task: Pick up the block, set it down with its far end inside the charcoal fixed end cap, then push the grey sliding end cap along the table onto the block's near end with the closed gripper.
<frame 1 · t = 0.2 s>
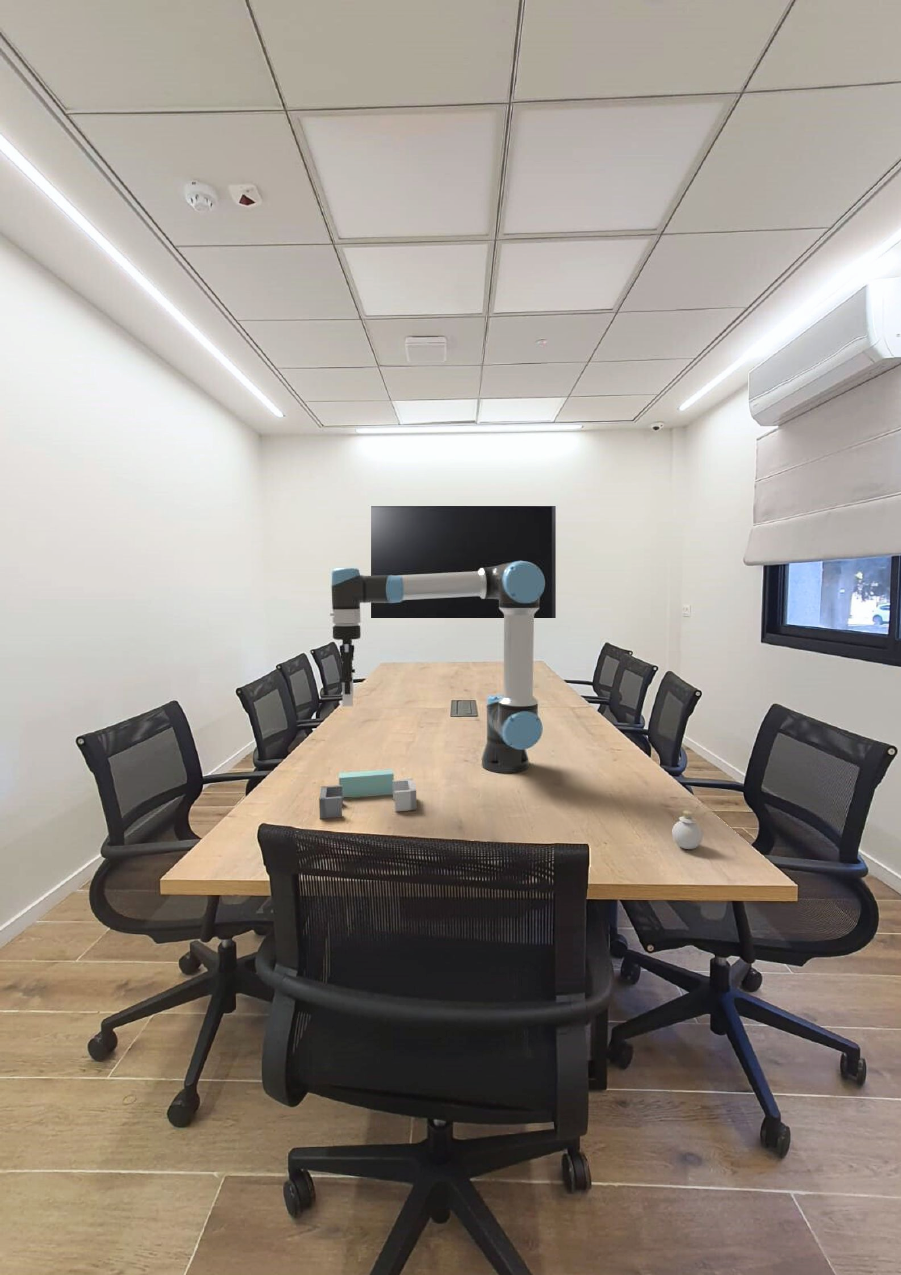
hand: (348, 700, 151), 26 cm above the table, fingers open, 13 cm apart
sliding cap: (404, 794, 144), point 3 cm above the table, slide at 0.0 cm
block: (366, 794, 152), on the table
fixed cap: (332, 810, 141), on the table
ornament: (689, 848, 119), on the table
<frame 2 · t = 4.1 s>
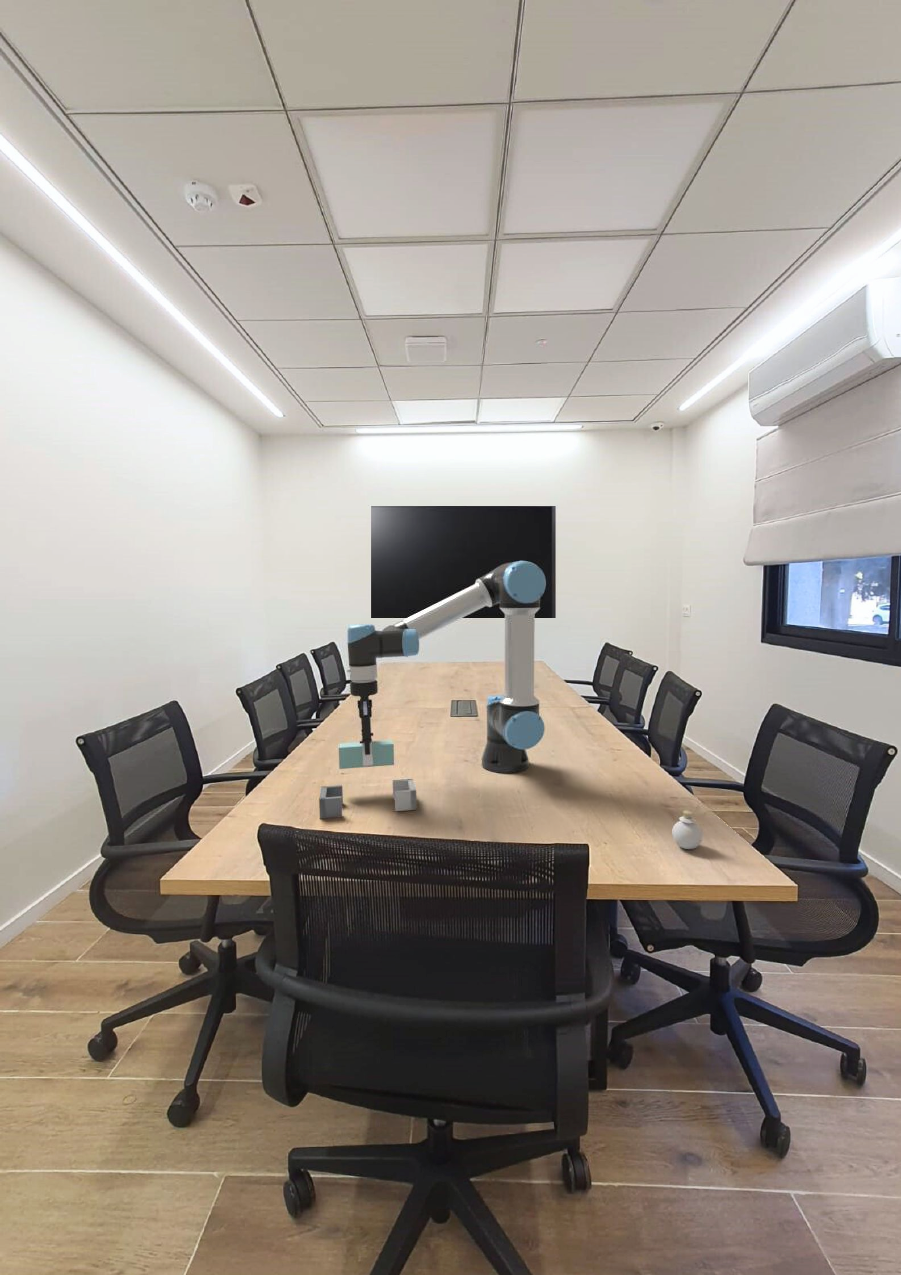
hand: (367, 762, 152), 9 cm above the table, fingers closed on block, 4 cm apart
block: (366, 764, 152), point 8 cm above the table, touching gripper
everything else where it was.
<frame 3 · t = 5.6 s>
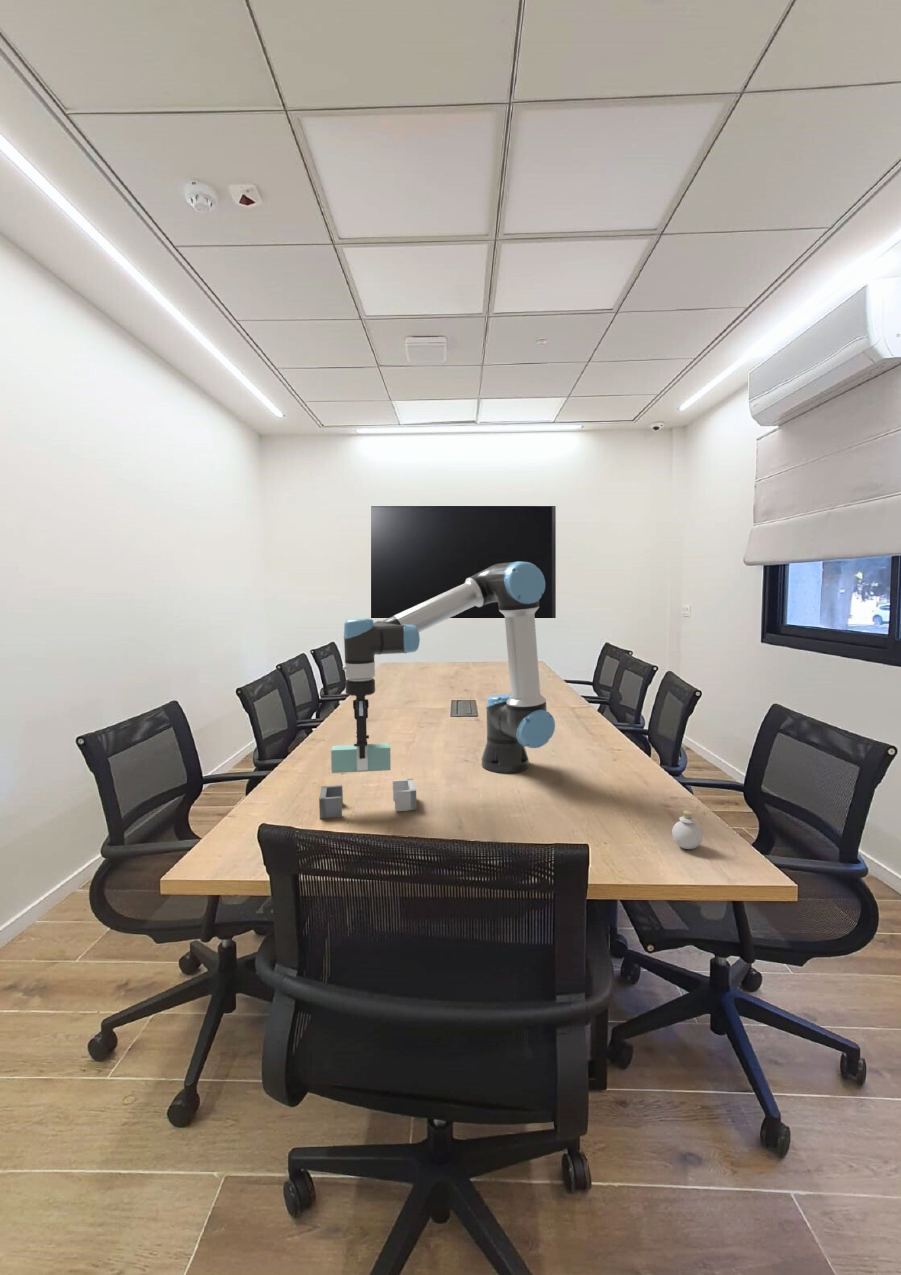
hand: (362, 766, 141), 11 cm above the table, fingers closed on block, 4 cm apart
block: (361, 769, 141), point 11 cm above the table, touching gripper
everything else where it was.
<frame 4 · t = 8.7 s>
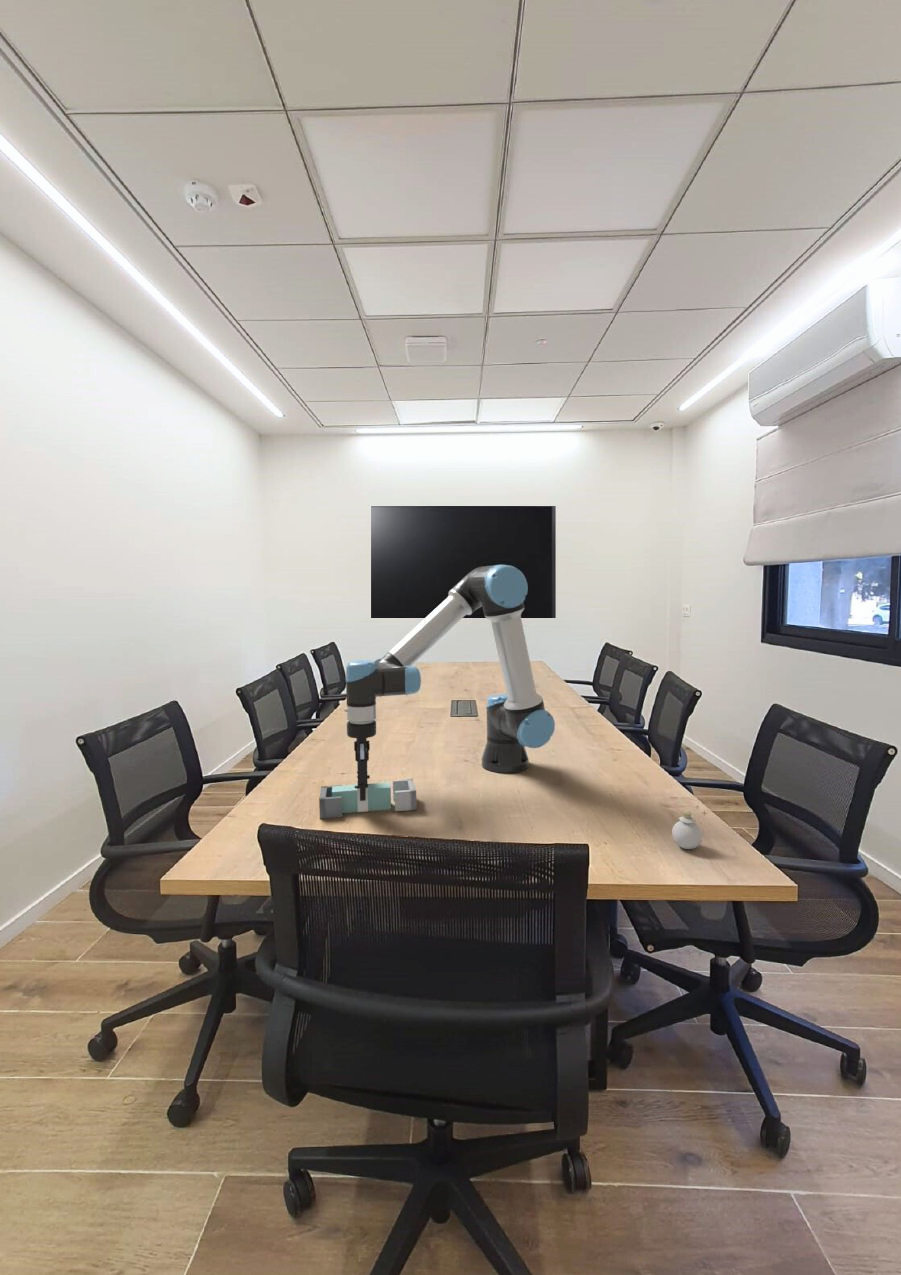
hand: (362, 807, 142), 0 cm above the table, fingers open, 4 cm apart
block: (362, 809, 142), on the table, touching gripper
everything else where it was.
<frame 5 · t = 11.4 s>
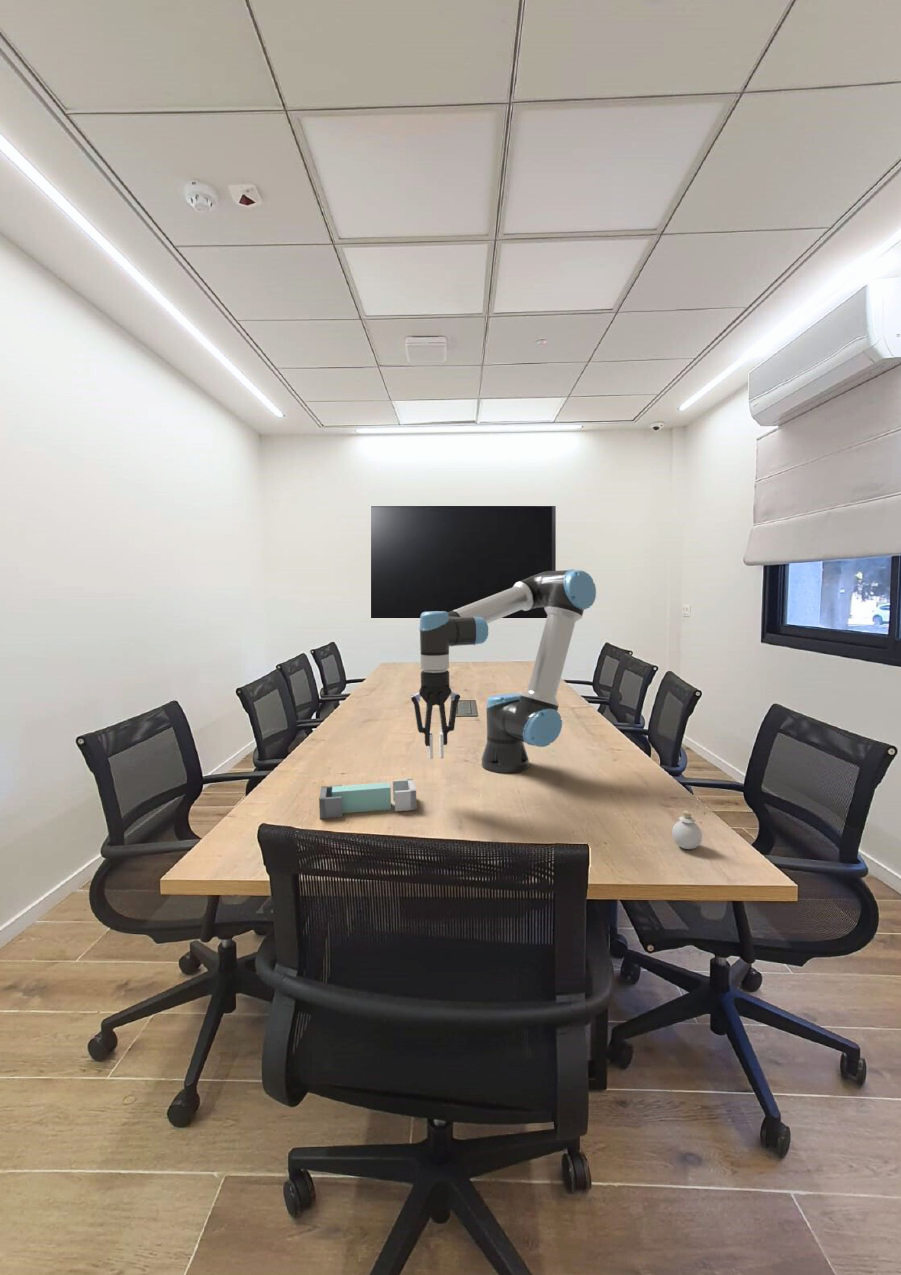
hand: (436, 756, 144), 12 cm above the table, fingers open, 2 cm apart
block: (362, 809, 142), on the table
everything else where it was.
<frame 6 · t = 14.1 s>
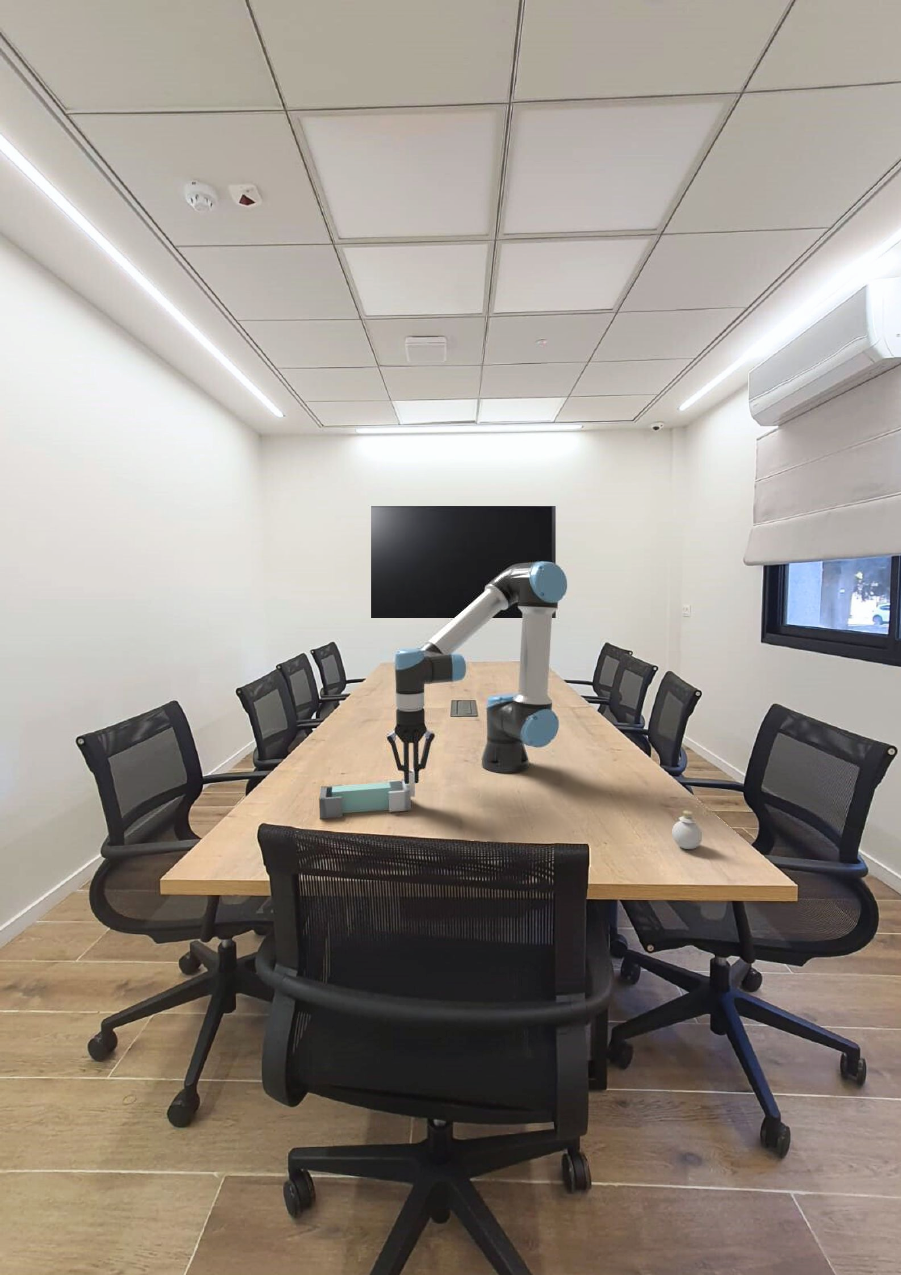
hand: (411, 794, 144), 3 cm above the table, fingers closed
sliding cap: (398, 794, 144), point 3 cm above the table, slide at 1.5 cm, touching gripper
everything else where it was.
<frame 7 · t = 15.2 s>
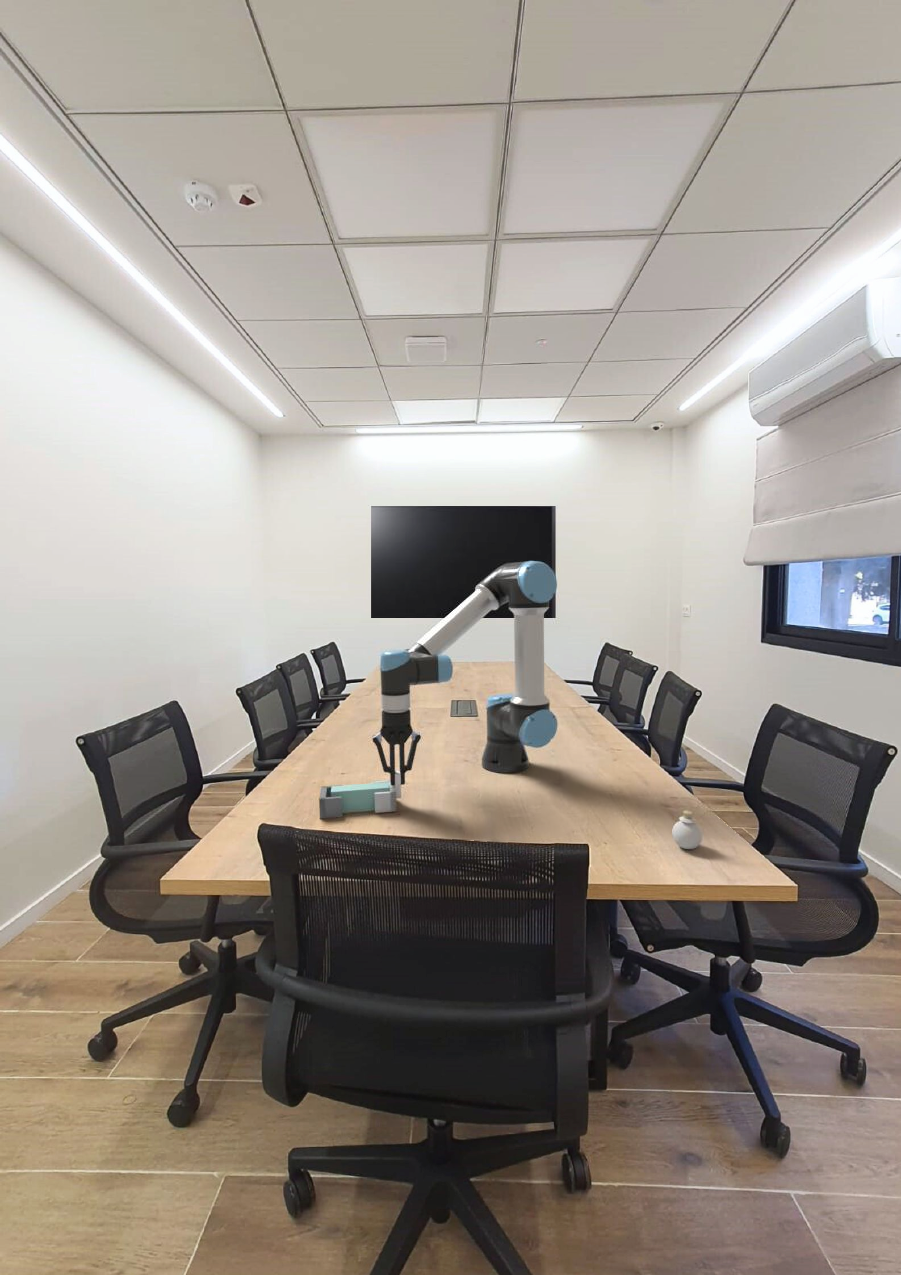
hand: (397, 796, 144), 2 cm above the table, fingers closed
sliding cap: (384, 796, 143), point 3 cm above the table, slide at 5.2 cm, touching gripper
everything else where it was.
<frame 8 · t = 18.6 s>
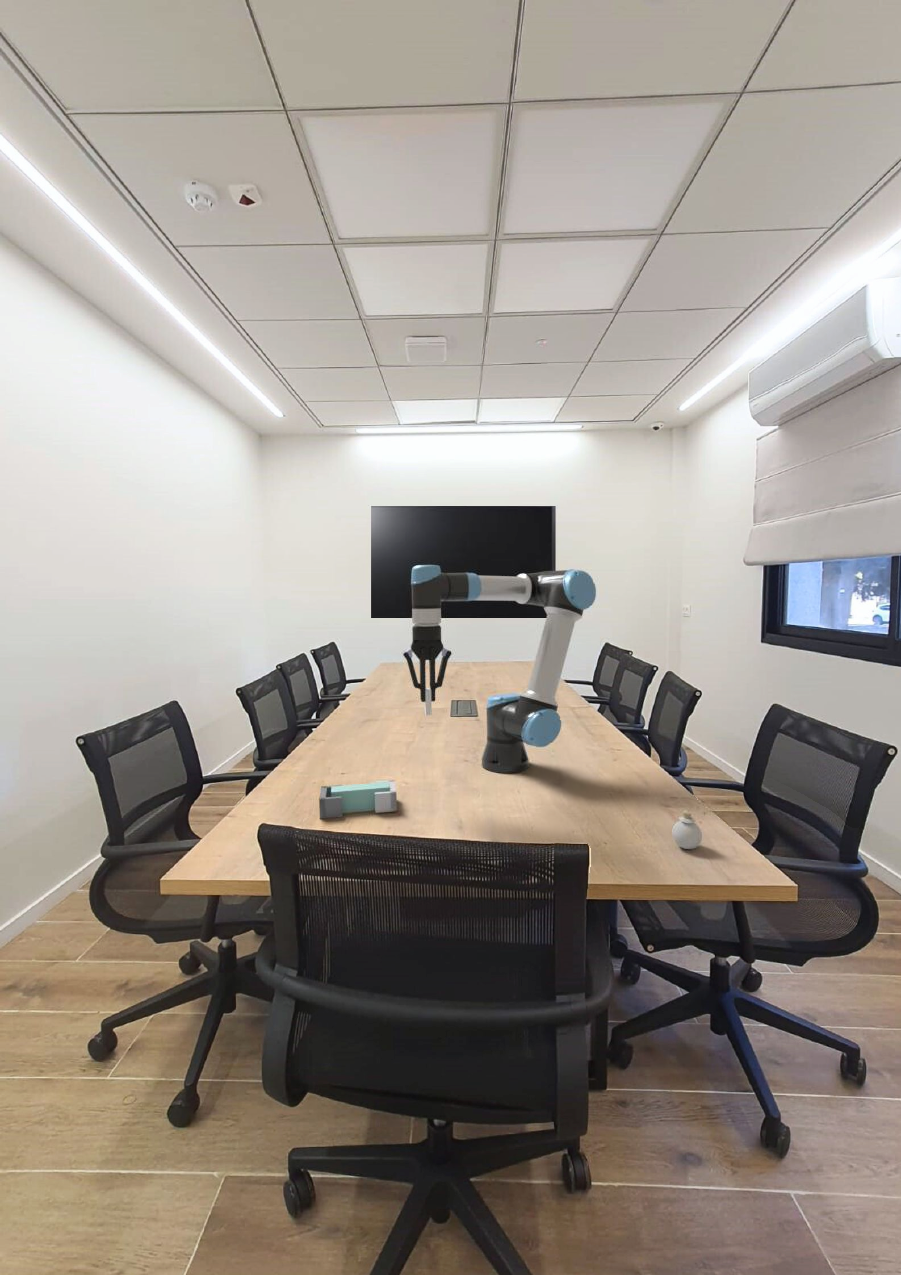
hand: (428, 713, 143), 24 cm above the table, fingers closed
sliding cap: (384, 796, 143), point 3 cm above the table, slide at 5.1 cm
everything else where it was.
at the end: block 0.6 cm from the target spot, on the table; sliding cap slide at 5.1 cm; block tilted 0° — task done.
